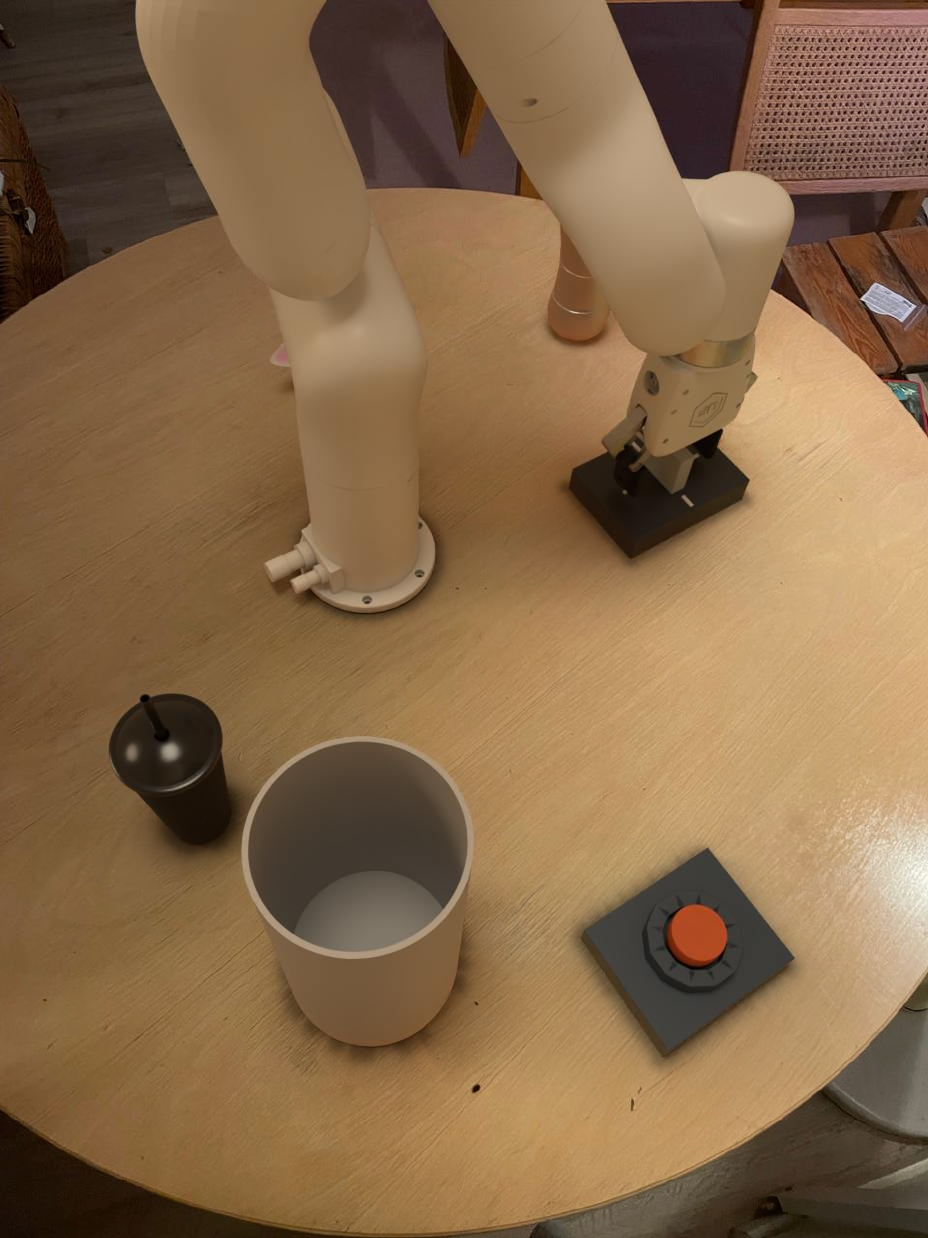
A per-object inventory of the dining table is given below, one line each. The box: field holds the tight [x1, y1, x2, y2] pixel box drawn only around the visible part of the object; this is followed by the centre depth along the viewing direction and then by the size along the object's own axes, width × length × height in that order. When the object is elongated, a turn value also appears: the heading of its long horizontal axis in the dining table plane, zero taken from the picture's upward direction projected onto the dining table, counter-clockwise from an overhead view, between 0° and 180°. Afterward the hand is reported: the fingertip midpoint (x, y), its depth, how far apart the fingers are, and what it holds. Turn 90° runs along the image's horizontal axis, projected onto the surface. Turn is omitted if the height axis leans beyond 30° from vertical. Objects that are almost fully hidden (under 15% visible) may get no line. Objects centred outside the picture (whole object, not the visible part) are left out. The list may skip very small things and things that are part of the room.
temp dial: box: [643, 445, 694, 494], centre depth 97 cm, size 5×2×5 cm, turn 33°
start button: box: [667, 905, 727, 967], centre depth 75 cm, size 4×4×2 cm
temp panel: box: [568, 438, 751, 560], centre depth 101 cm, size 14×10×3 cm
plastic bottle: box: [547, 223, 610, 342], centre depth 106 cm, size 6×7×20 cm
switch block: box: [580, 847, 796, 1057], centre depth 77 cm, size 12×10×4 cm
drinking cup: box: [108, 692, 232, 845], centre depth 74 cm, size 8×8×20 cm
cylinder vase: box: [240, 735, 475, 1047], centre depth 67 cm, size 12×12×25 cm
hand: (663, 466), depth 99 cm, fingers open, 8 cm apart
